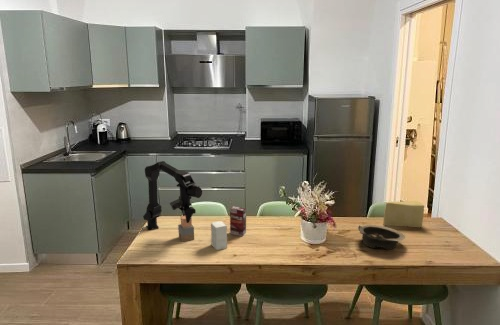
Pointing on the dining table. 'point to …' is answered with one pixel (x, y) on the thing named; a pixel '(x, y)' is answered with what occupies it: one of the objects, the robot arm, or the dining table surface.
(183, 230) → the tower top
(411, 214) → the cheese
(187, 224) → the terracotta cube
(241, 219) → the supplement box
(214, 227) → the small box
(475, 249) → the dining table surface
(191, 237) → the tower base
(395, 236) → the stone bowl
